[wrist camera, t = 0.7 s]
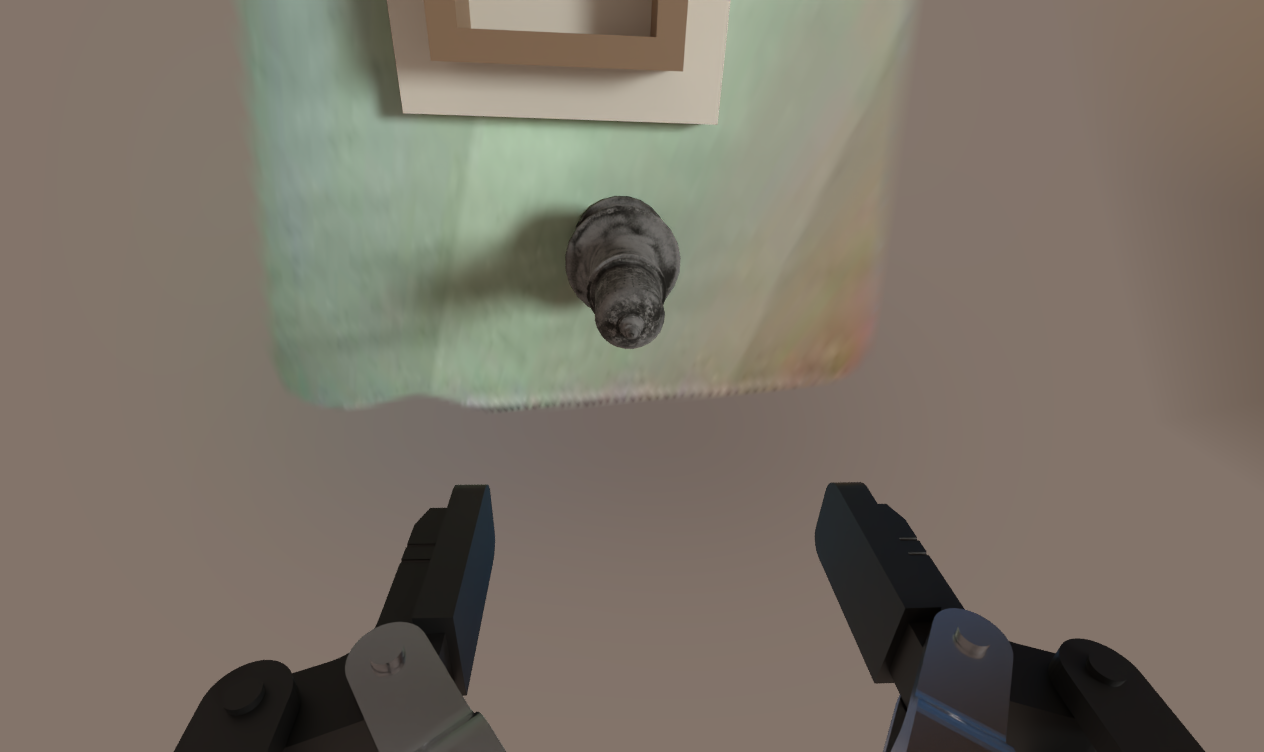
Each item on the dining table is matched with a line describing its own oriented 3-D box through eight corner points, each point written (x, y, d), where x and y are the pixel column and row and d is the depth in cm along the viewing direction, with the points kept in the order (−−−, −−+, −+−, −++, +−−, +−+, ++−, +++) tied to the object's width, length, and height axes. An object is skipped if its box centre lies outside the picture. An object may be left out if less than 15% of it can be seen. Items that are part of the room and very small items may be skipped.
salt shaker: (560, 196, 31) (542, 271, 20) (669, 184, 31) (707, 253, 20) (575, 298, 34) (567, 409, 23) (675, 287, 34) (710, 393, 23)
